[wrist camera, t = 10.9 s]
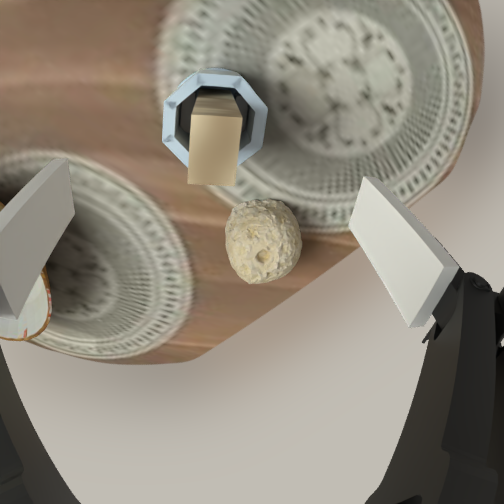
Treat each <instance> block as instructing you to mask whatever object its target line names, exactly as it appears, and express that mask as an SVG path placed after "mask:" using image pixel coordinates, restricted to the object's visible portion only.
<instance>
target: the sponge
mask: <svg viewBox="0 0 504 504" xmlns="http://www.w3.org/2000/svg"><path fill="white" fill-rule="evenodd" d="M300 232H301V231H300V230H299V225H298V222H297V220H296V218H295V216H294V215H293V213H292V211H291V210H290V208H289V207H287V206H285V205H284V203H283V202H281V201H276V200H272V199H267V200H262V201H258V200H252V201H248V202H244V203H241V204H239V205H237V206H236V207H235V208H233V209H232V212H231V215H230V217H229V219H228V220H227V225H226V227H225V234H226V250H227V253H228V256H229V260H230V264H231V265H232V267H233V269H234V270H236V272H237V274H238V276H239V277H240V278H242V279H243V280H245V281H246V282H248V283H249V284H252V283H255V284H258V283H266V282H270V281H273V280H276V279H279V278H281V277H283V276H285V275H286V274H287V273H289V272H290V271H291V270H292V269H293V266H295V265H296V263H297V261H298V259H299V257H300V253H301V248H302V241H301V233H300Z"/></svg>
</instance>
